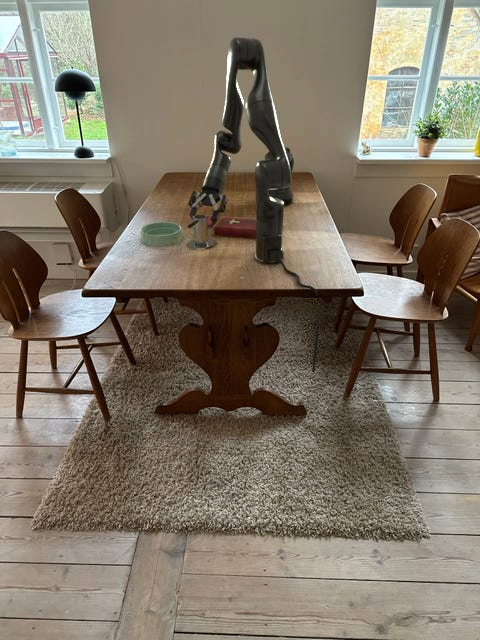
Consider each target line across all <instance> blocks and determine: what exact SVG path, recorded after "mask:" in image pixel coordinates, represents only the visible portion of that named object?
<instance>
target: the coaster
mask: <svg viewBox="0 0 480 640" xmlns="http://www.w3.org/2000/svg"><path fill="white" fill-rule="evenodd" d="M187 245H188V246H189V247H191V248H194V249H205V250H209V249H212V248H214V247H215V245H216V242H215V240H213V239H211V238H208V243H207V244H205V245H196V244H195V241H194V238H193V239H190V240H189V241H188V242H187Z"/></svg>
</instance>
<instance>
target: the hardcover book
mask: <svg viewBox="0 0 480 640" xmlns="http://www.w3.org/2000/svg"><path fill="white" fill-rule="evenodd" d="M212 226H213V227H212V228H213V230H212V232H213V235H215V236H222V237H226V238H236V239H246V240H248V239H249V240H256V218H249V217H248V218H247V217H234V216H224V215H222V216H221V217H220V218H219V219H218V220H216V222H215V223H214V225H212Z"/></svg>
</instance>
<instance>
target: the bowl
mask: <svg viewBox="0 0 480 640" xmlns="http://www.w3.org/2000/svg"><path fill="white" fill-rule="evenodd" d="M140 238H141V243H143V244H144V245H147V246H152V247H166V246H167V247H168V246H172V245H175V244H177V243H179V242H181V241H182V240H183V227H182V225H180V224H179V223H176V222H171V221H156V222H151V223H148V224H145V225H143V226H142V227H141V228H140Z"/></svg>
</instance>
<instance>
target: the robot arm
mask: <svg viewBox="0 0 480 640" xmlns="http://www.w3.org/2000/svg"><path fill="white" fill-rule="evenodd" d="M267 69H268V68H267V63H266V55H265V50H264V46H263V43H262V41H261V40H260V39H258V38H255V37H243V36H242V37H241V36H235V37H232V38H231V40H230V41H229V45H228V49H227V57H226V77H225V79H226V80H225V81H226V83H225V84H226V85H225V87H226V88H225V102H224V108H223V113H222V119H221V124H222V127H224V128H225V129H226V130H228V131H226V130H221V129H220V130H218V131H217V132H216V133H215V135H214V138H213V140H214V141H213V156H212V159H211V162H210V165H209V168H208V170H207V172H206V174H205V177H204V181H203V184H202V187H201V190H200V192H197V191H196V190H193V191H192V192H191V196H190V198H189V201H188V202H187V205H188V206H189V208H191V209H190V212H189V217H190V219H191V220H193V216H195V215H197V212H198V210H199V208H202V207H211V208H212V207H213V209H214V210H213V211H212V214H211V215H212V217H211V221H212V222H214V223H216V222H217V221H218V220H217V219H218V217H219V214H220V213H222V214H224V213H225V211H226V209H227V205H228V200H229V199H228V197H227V195H226V194H223V195H222V193H223V191H224V187H225V184H226V181H227V178H228V173H229V170H230V167H231V164H232V159H231V156H229V154H231V155H237V154H238V153H240V151H241V149H242V145H243V139H242V121H243V117H244V112H245V113H246V118H247V123H248V126H249V129H250V130H251V132H252V133H253V134H254V135H255V137H256V138H257V139H258V140H259V141H260V142H261V143H262V144H263V145H264V146H265V147H266V149H267V150H268V152H270V154H271V156H272V160H265V159H262V160H259V161H257V162H256V164H255V168H254V184H255V185H254V186H255V187H254V189H255V190H254V192H255V219H256V239H255V252H254V253H255V254H254V259H255V260H256V261H257V262H260V263H262V264H263V265H267V264H276V263H280V265H281V267H282V268H283V270H284V271H285V272H286V273H287V274H289V275H292V276H294V277H295V278H296V281H297V285H299V286H300V287H301V288H304V289H310V290H311V291H313V293H314V294H315V295H316V296H319V292H318V290H317V289H316V288H315V287H314V286H311V285H308V284H303V283H302V282H301V278H300V276H299V274H297V273H296V272H294V271H292V270H289V268H287V266H286V265H285V263H284V262H283V260H284V250H283V238H284V237H283V236H284V217H285V206H284V202H283V201H282V200H280V199H278V198H274V197H271V196H269V190H276V189H284V188H287V187H289V185H290V183H291V184H292V173H291V170H290V165H289V162H288V159H287V156H286V152H285V149H284V147H285V145H284V143H283V141H282V137H281V133H280V128H279V122H278V117H277V112H276V109H275V103H274V100H273V96H272V93H271V86H270V83H269V77H268V71H267ZM239 71H250V72H251V73H252V75H253V83H252V86H251V88H250V91H249V94H248V96H247V98H246V102H244V98H243V96H242V93H241V89H240V87H239V83H238V74H239V73H238V72H239ZM283 145H284V146H283ZM227 153H228V154H227ZM218 202H220V205H219V204H218ZM319 333H320V326H317V325H316V326H315V341H314V347H313V348H314V349H313V360H312V369H311V373H314V374H315V372H316V362H317V353H318V343H319Z"/></svg>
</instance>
